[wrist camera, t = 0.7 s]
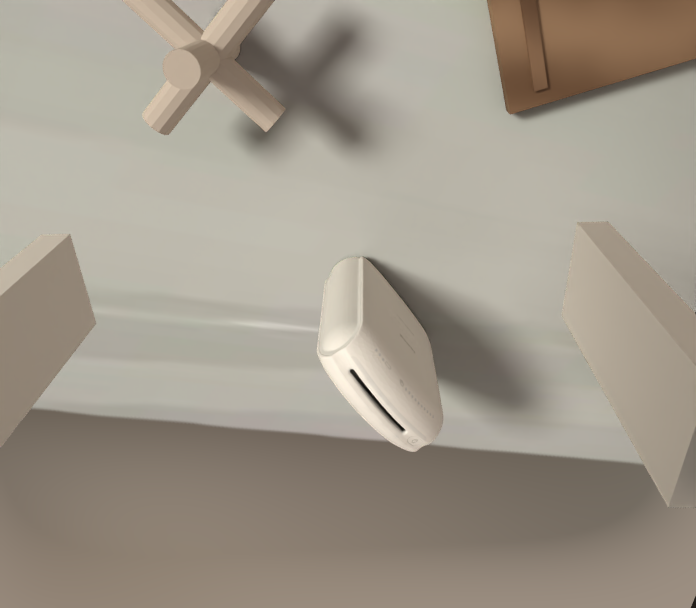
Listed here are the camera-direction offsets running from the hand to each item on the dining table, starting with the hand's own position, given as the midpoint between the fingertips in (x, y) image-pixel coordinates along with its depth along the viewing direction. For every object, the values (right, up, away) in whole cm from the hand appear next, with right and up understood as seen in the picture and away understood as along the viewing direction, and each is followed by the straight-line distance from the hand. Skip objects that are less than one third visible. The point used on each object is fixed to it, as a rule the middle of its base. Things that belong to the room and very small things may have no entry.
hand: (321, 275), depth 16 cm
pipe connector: (-7, +15, +21) cm, 27 cm away
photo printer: (+3, -1, +30) cm, 31 cm away
